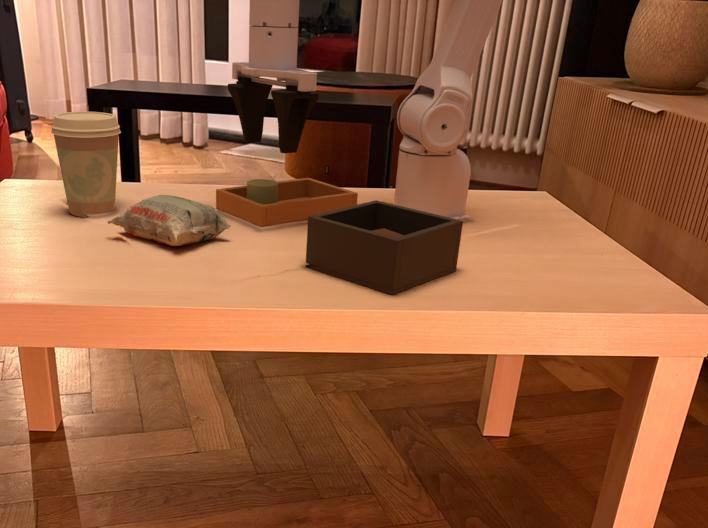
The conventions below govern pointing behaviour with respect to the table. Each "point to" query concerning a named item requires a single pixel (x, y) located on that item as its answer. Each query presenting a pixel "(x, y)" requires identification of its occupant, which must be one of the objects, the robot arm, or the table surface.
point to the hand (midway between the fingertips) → (270, 147)
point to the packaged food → (171, 220)
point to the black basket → (383, 245)
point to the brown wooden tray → (286, 202)
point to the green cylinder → (262, 191)
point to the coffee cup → (87, 160)
